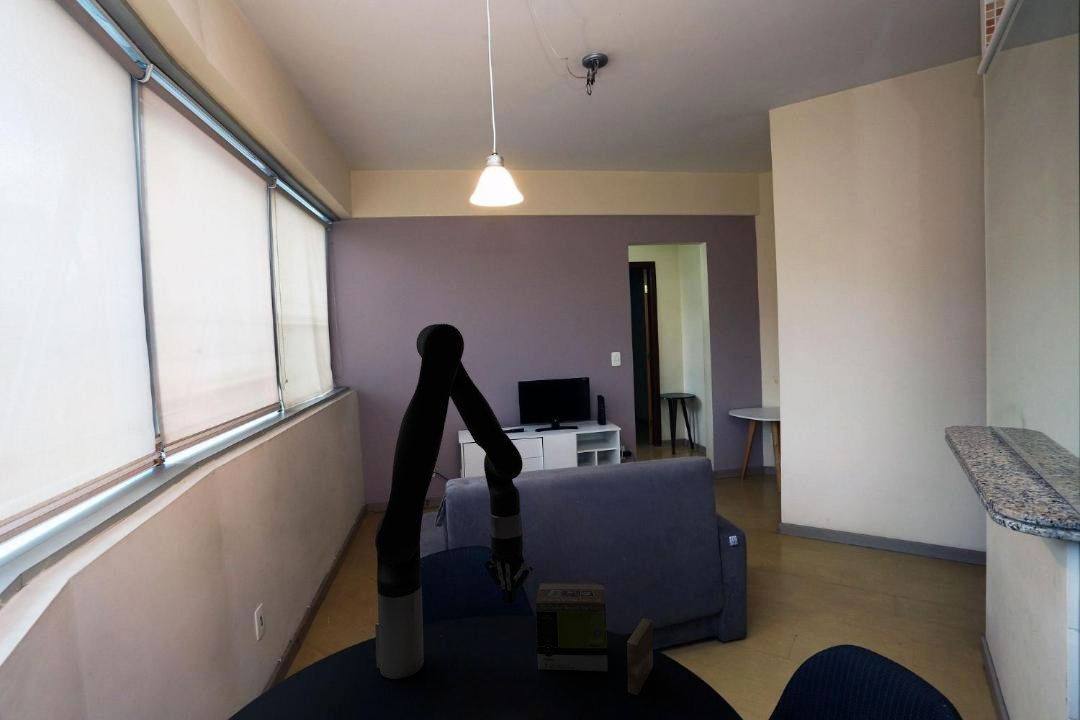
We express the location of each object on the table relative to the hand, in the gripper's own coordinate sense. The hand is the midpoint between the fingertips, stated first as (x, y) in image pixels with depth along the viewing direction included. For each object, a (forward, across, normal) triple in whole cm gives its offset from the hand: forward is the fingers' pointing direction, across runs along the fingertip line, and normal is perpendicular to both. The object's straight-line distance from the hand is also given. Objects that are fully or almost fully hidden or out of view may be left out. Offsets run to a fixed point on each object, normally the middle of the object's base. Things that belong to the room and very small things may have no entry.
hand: (509, 603), depth 118 cm
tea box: (+9, +16, 0) cm, 19 cm away
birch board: (+8, +32, 0) cm, 33 cm away
